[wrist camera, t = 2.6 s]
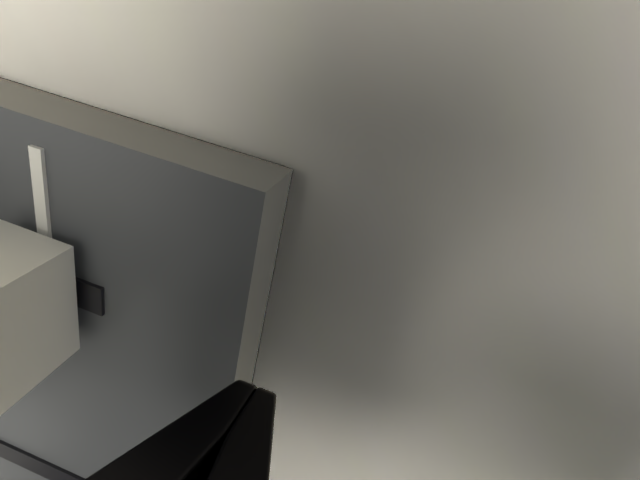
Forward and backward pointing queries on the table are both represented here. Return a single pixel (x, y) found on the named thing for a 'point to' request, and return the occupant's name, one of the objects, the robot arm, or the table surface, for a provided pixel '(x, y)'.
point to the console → (134, 274)
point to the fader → (34, 309)
